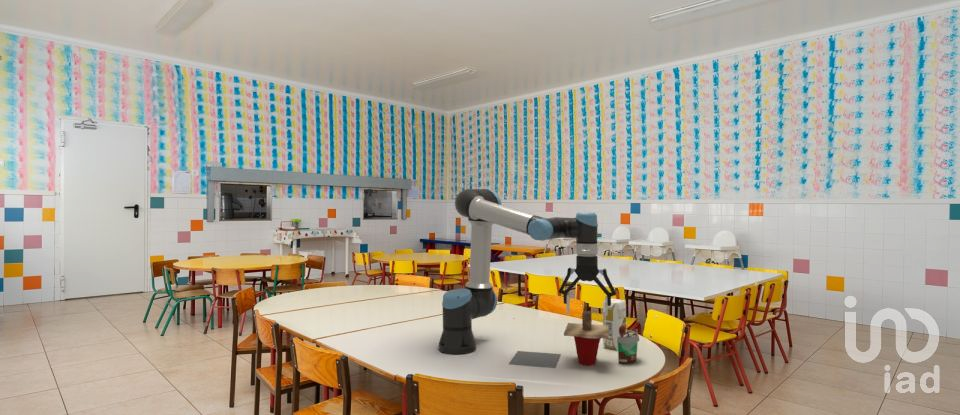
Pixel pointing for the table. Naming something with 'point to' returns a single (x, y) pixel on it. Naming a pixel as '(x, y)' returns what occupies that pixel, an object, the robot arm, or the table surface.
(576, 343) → the plastic cup
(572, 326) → the lid
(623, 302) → the juice carton
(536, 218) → the robot arm
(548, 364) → the mat
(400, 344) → the table surface
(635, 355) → the food container
